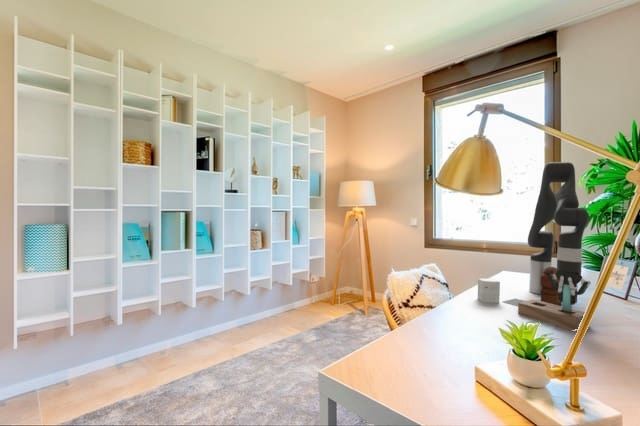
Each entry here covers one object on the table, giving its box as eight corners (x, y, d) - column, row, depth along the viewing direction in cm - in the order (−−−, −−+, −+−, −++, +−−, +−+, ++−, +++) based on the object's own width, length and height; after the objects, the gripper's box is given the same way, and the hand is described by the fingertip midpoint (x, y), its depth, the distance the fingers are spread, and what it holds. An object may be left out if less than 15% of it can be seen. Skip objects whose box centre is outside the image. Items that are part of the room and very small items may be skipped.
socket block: (533, 310, 139) (533, 299, 139) (588, 326, 121) (589, 313, 121) (517, 314, 133) (518, 302, 133) (574, 331, 115) (575, 318, 115)
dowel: (564, 308, 125) (565, 283, 124) (573, 310, 122) (574, 285, 122) (560, 309, 123) (561, 284, 123) (569, 311, 120) (570, 285, 120)
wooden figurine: (554, 309, 141) (556, 269, 140) (538, 305, 146) (539, 267, 145) (564, 304, 147) (565, 267, 147) (548, 301, 153) (549, 264, 152)
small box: (494, 300, 153) (494, 278, 153) (499, 303, 147) (500, 281, 147) (477, 299, 154) (477, 278, 153) (481, 302, 148) (482, 280, 148)
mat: (515, 299, 155) (515, 298, 155) (542, 306, 145) (542, 305, 145) (501, 302, 149) (501, 301, 149) (528, 310, 139) (528, 309, 139)
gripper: (596, 261, 118) (593, 307, 118) (553, 255, 130) (551, 297, 130) (587, 263, 114) (585, 310, 115) (544, 257, 126) (542, 299, 127)
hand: (567, 302), depth 122 cm, fingers closed on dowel, 3 cm apart
